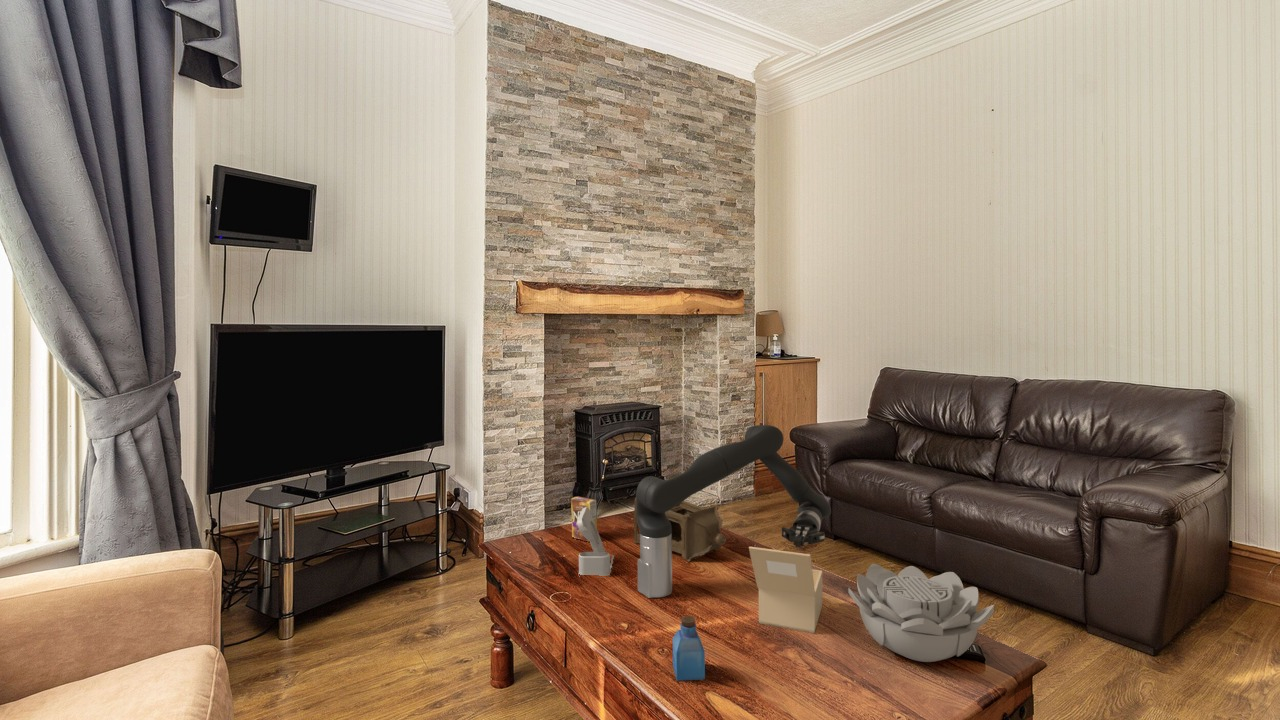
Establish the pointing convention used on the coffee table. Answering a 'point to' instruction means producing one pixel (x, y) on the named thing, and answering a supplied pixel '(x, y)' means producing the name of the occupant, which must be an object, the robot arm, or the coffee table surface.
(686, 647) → the perfume bottle
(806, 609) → the cardboard carton
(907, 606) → the decorative bowl
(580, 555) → the phone holder
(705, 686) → the coffee table surface
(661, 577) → the robot arm
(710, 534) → the brown lantern
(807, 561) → the lid flap
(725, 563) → the coffee table surface
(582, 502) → the candy box
